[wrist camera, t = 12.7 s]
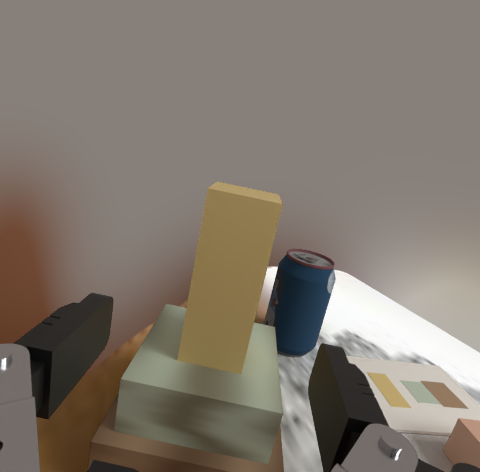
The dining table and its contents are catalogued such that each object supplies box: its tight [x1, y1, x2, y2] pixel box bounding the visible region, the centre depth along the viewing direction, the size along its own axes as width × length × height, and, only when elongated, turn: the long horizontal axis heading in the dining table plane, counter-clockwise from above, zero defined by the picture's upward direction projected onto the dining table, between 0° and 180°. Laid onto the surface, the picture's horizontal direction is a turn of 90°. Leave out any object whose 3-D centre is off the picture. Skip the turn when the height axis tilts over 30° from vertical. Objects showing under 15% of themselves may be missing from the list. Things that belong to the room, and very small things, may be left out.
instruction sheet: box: [346, 356, 480, 436], centre depth 37 cm, size 16×11×1 cm
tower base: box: [88, 304, 284, 472], centre depth 25 cm, size 12×12×8 cm
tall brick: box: [177, 182, 283, 374], centre depth 23 cm, size 4×4×12 cm
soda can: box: [264, 249, 335, 357], centre depth 40 cm, size 7×7×12 cm
